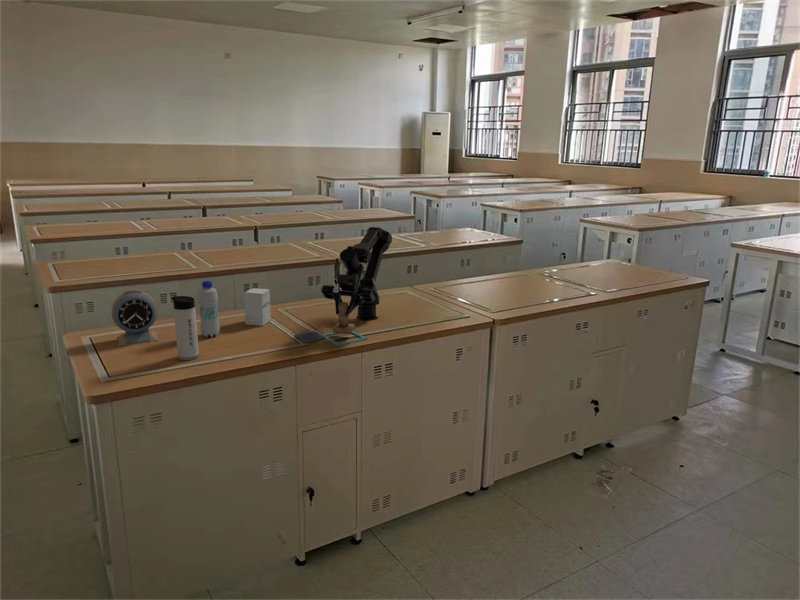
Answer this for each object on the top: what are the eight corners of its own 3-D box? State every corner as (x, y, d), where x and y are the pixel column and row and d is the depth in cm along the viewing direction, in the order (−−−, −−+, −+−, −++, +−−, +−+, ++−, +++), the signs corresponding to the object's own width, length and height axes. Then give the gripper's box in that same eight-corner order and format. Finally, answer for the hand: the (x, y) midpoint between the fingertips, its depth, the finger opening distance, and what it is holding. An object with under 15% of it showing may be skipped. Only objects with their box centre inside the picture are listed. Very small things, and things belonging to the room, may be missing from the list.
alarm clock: (115, 346, 189) (109, 295, 184) (114, 337, 197) (108, 288, 193) (161, 340, 196) (156, 290, 191) (158, 332, 204) (154, 284, 199)
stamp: (338, 327, 205) (338, 299, 202) (354, 328, 204) (354, 300, 201) (332, 332, 199) (332, 304, 196) (348, 334, 198) (348, 305, 195)
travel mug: (180, 353, 184) (175, 294, 178) (201, 353, 184) (196, 294, 179) (174, 361, 178) (168, 299, 172) (196, 360, 178) (191, 299, 173)
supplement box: (263, 326, 213) (261, 293, 209) (245, 324, 214) (243, 292, 211) (271, 320, 220) (270, 288, 216) (253, 319, 221) (252, 287, 218)
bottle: (224, 333, 203) (220, 279, 198) (212, 339, 197) (208, 283, 192) (208, 331, 206) (204, 277, 200) (196, 337, 199) (192, 281, 194)
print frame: (349, 329, 210) (349, 328, 210) (367, 339, 201) (367, 338, 201) (319, 336, 203) (319, 334, 203) (337, 345, 193) (337, 344, 193)
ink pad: (315, 333, 206) (315, 330, 206) (325, 339, 200) (325, 336, 200) (295, 337, 201) (294, 334, 201) (305, 343, 195) (305, 340, 195)
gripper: (322, 262, 201) (310, 300, 194) (372, 266, 196) (361, 305, 189) (331, 279, 211) (320, 316, 203) (379, 283, 206) (369, 321, 198)
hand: (341, 314), depth 198 cm, fingers closed on stamp, 3 cm apart
